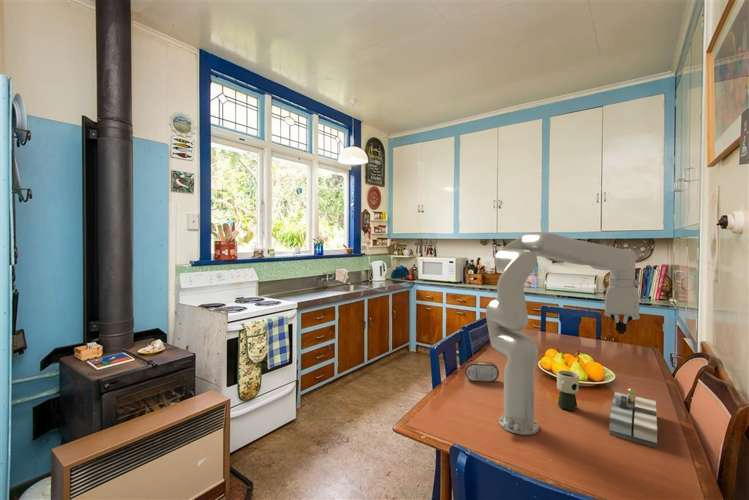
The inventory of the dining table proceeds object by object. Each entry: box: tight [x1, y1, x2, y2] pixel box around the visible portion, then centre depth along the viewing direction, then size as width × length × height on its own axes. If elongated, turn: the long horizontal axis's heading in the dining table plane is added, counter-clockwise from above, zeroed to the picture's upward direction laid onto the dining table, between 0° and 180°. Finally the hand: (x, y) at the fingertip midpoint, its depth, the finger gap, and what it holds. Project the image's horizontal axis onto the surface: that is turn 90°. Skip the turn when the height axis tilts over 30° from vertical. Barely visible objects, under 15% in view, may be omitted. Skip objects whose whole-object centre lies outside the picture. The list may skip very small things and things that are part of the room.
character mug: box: [556, 369, 580, 411], centre depth 132 cm, size 11×7×13 cm, turn 133°
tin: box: [463, 361, 500, 383], centre depth 157 cm, size 15×3×8 cm, turn 84°
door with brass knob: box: [615, 387, 637, 409], centre depth 121 cm, size 2×6×6 cm, turn 52°
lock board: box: [608, 391, 658, 449], centre depth 119 cm, size 24×12×8 cm, turn 142°
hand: (621, 333), depth 129 cm, fingers closed
